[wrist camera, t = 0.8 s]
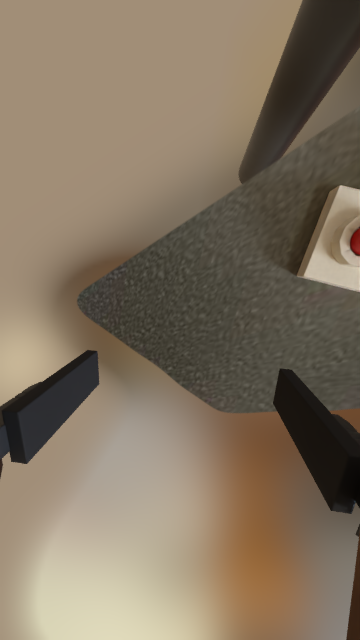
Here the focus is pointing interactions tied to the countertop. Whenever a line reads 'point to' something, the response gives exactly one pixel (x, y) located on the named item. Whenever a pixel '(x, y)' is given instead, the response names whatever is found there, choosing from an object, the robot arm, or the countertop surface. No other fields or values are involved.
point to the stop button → (356, 242)
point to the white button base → (335, 242)
